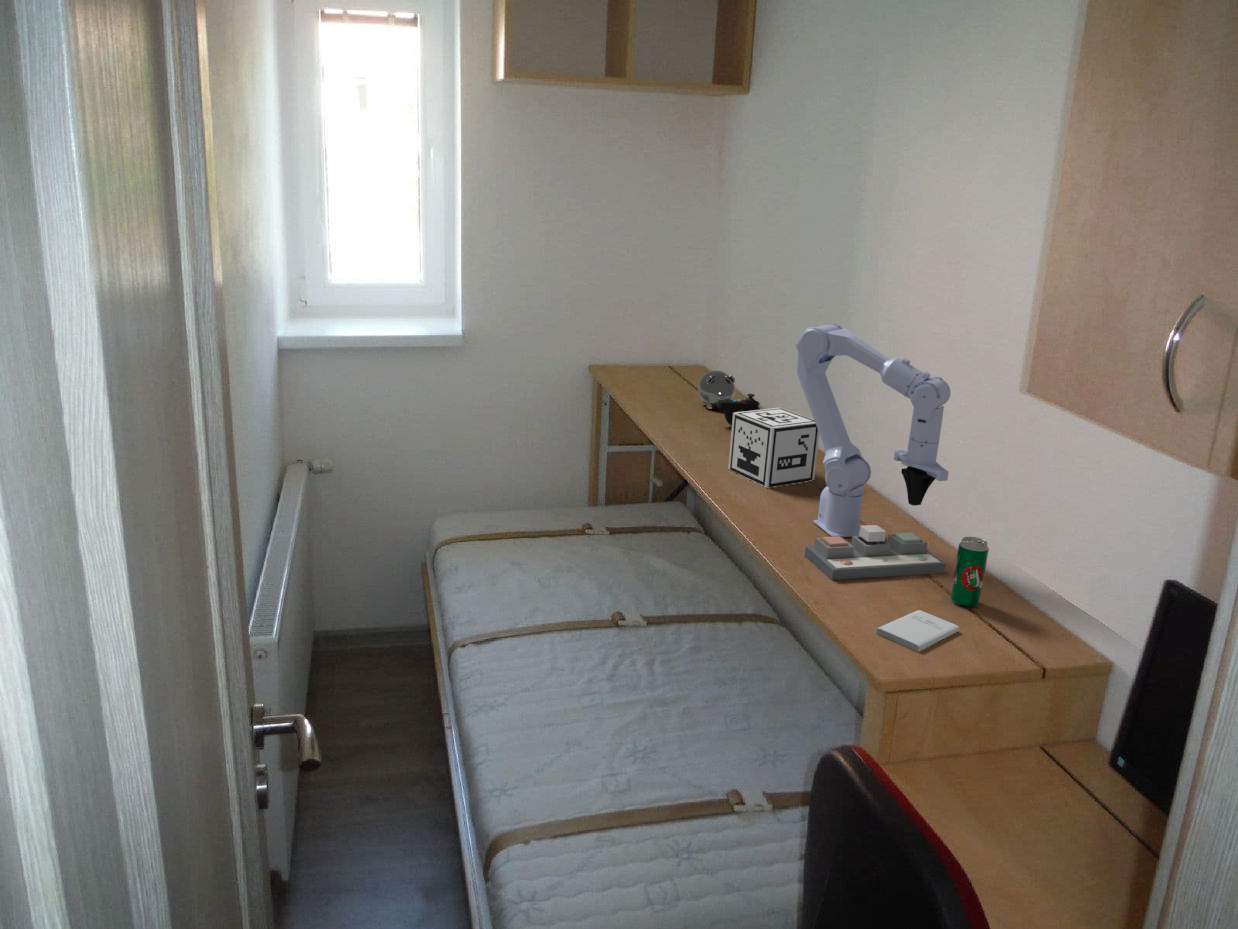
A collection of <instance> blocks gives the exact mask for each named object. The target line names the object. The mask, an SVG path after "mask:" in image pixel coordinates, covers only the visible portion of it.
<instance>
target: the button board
mask: <svg viewBox="0 0 1238 929" xmlns="http://www.w3.org/2000/svg"><path fill="white" fill-rule="evenodd" d="M912 533H913V532H912ZM913 534H914V535H916V534H915V533H913ZM916 536H917V537H918V538H920V539H921V542H915V543H903V542H901V541H900V540H899V539H897V538H896V537H895V533H888V536H887V541H886V540H885V541H875V542H867V541H866V540H865V539H864V538H862V537H861V536H852V537H851V543H850V542H848V541H847V540H846V539H845V538H844V537H841V538H842V539H843V540H844V541H846V542H847V546H839V547H829V546H828V545H826V544H825V543H824V542H823V541H822V537H815V538H814V545H806V546H805V550H804V557H806V559H808V560H809V561H810V562H811V561H812V562H811V563H812V564H813V565H814V566H816V568H818V569H819V570H820V571H821V572H822V573H823V574H824V575H826V576H827V577H828V578H829V579H830V580H831V581H835V580H853V579H854V580H855V579H868V578H882V577H883V578H884V577H898V576H903V577H904V576H913V575H914V576H917V575H932V574H933V575H934V574H945V573H946V572H945V571H946V567H947V566H946V565H947V563H946V562H945V561H943V560H942V559H941V558H939V557H938V556H937V555H935V554H933V553H932V552H931V551H929V550H928V549H927V548H928V542H927V541H925V540H924V539H923V538H921V537H919V536H918V535H916ZM917 554H930V555H931V556H933V557H934V558H936V559H937V560H939V561H940V563H925V564H909V565H892V566H875V567H858V568H841V569H836V568H835V567H834V566H833V565H832V564H831V563H829V562H828V561H827V560H829V559H847V558H864V557H882V556H900V555H917Z"/></svg>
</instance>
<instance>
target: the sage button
mask: <svg viewBox="0 0 1238 929" xmlns="http://www.w3.org/2000/svg"><path fill="white" fill-rule="evenodd" d="M894 534H895V537H896V538H897V539H899V540H900V541H901V542H903V543H915V542H921V539H922V538H921V537H919V536H918V535H916V534H915V533H914V534H915V535H914V534H913V532H899V533H898V532H897V533H896V532H895V533H894ZM917 536H918V537H919V538H918V537H917ZM920 538H921V539H920Z"/></svg>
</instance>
